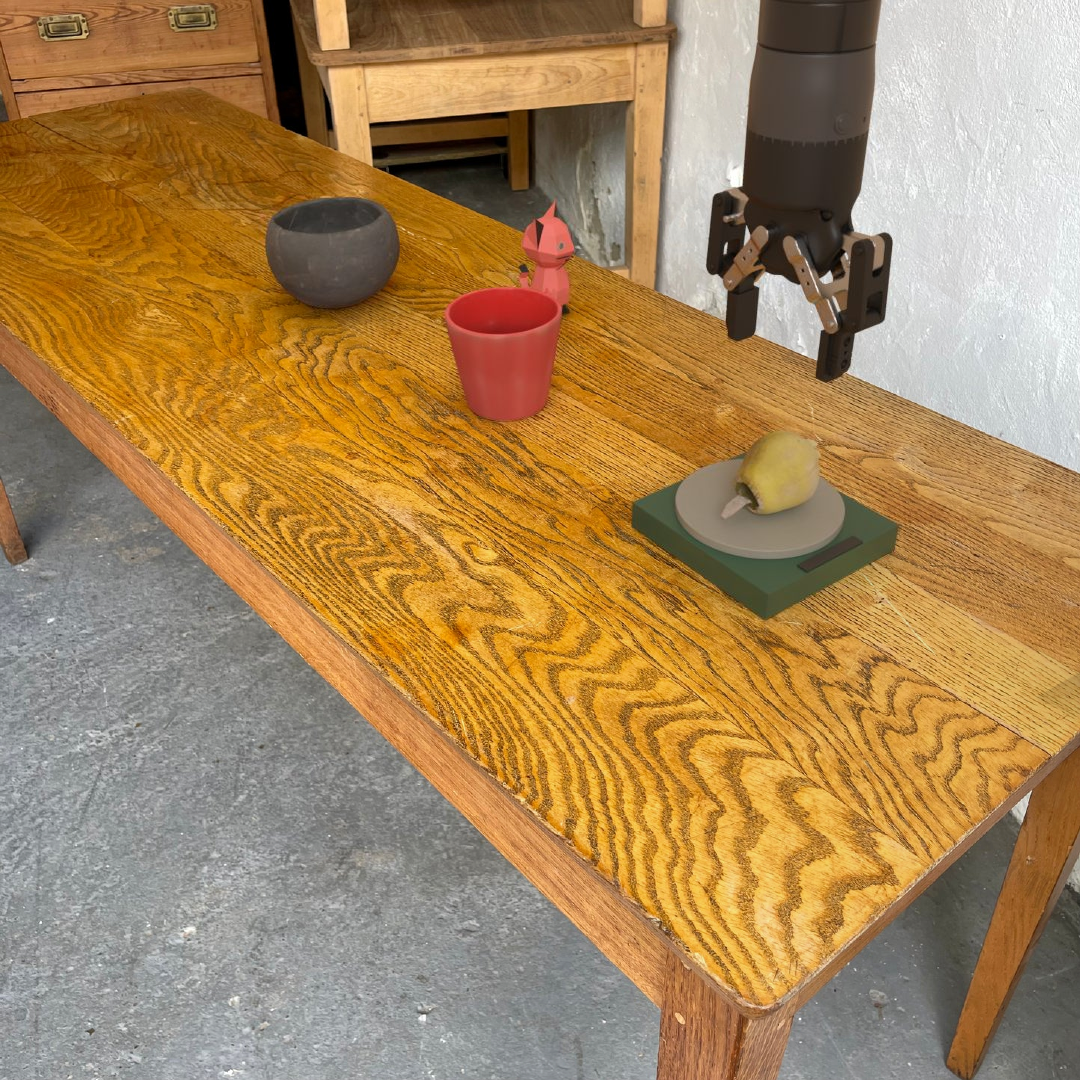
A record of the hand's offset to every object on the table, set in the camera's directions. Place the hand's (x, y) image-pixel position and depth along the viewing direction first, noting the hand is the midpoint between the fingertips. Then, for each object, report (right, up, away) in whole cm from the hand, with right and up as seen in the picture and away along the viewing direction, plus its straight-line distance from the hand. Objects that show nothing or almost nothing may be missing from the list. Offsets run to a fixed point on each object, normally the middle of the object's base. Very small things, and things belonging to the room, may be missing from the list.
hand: (783, 357), depth 78 cm
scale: (0, -13, +9) cm, 16 cm away
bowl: (-40, +15, +50) cm, 66 cm away
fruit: (0, -11, +7) cm, 13 cm away
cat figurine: (-16, +12, +45) cm, 49 cm away
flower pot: (-20, 0, +29) cm, 35 cm away
